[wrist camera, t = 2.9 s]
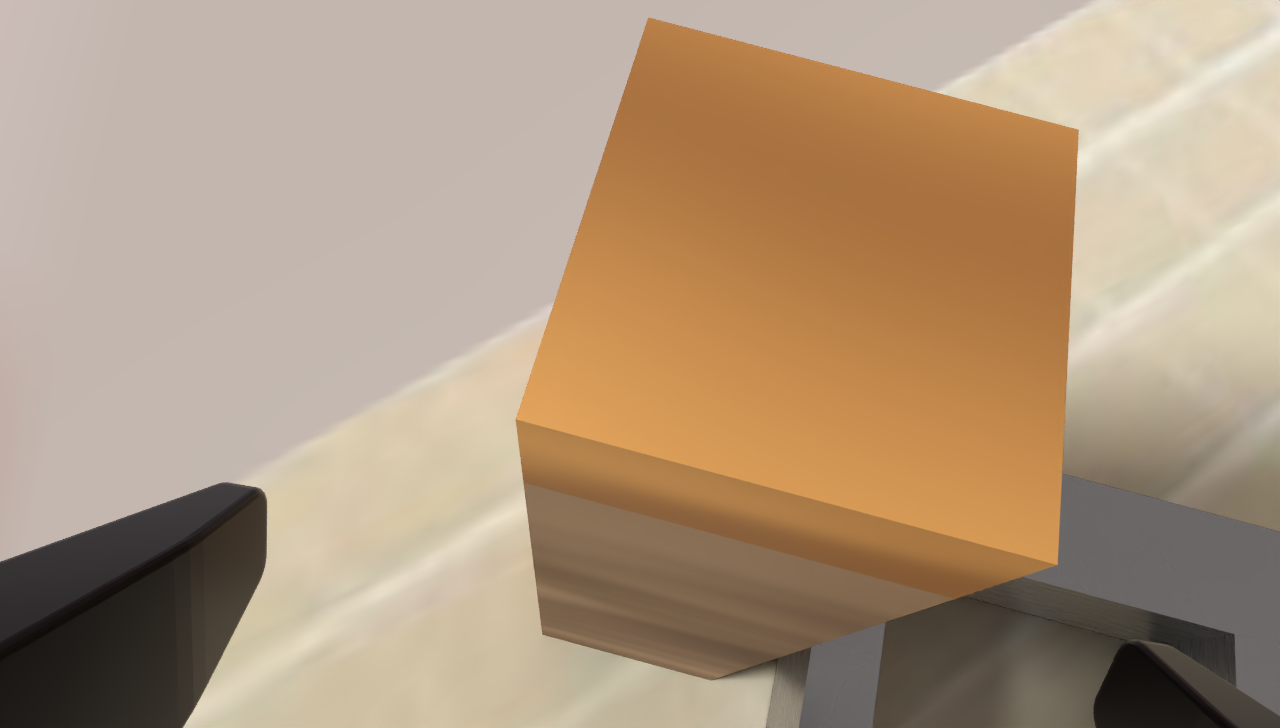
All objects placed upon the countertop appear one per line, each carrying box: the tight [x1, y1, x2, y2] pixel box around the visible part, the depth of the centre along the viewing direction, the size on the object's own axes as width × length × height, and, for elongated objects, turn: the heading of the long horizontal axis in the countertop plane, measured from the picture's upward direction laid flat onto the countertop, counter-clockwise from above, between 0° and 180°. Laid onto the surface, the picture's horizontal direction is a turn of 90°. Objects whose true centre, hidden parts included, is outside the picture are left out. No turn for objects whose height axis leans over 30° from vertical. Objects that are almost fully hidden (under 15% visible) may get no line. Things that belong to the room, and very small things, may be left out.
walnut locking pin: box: [516, 18, 1079, 680], centre depth 12 cm, size 4×4×13 cm
